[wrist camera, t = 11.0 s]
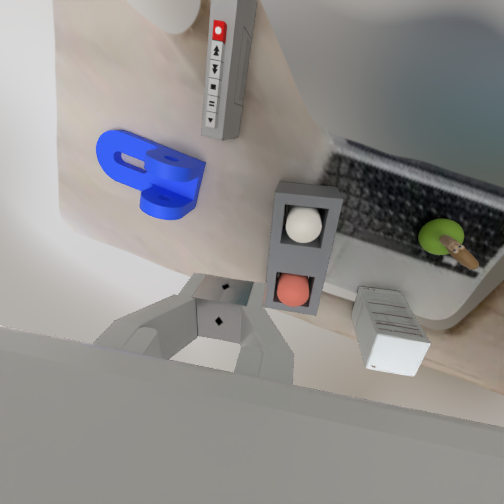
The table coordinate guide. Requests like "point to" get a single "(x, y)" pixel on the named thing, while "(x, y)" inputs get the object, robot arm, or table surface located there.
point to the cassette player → (227, 66)
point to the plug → (303, 223)
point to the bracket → (152, 173)
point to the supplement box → (388, 332)
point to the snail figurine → (446, 241)
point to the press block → (302, 254)
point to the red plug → (293, 289)
